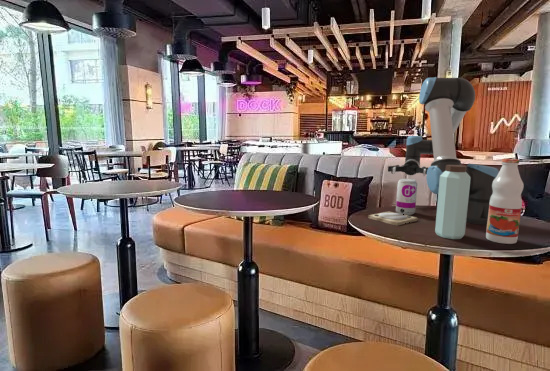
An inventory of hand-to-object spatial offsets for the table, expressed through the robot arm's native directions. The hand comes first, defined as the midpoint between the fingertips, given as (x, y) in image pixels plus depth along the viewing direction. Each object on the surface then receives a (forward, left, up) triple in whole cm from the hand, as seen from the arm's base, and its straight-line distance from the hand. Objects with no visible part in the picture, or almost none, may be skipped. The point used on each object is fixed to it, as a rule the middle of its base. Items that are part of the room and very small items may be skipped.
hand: (408, 172), depth 176 cm
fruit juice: (-48, +17, -17) cm, 54 cm away
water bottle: (-35, +27, -17) cm, 48 cm away
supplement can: (-5, +9, -17) cm, 20 cm away
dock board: (-9, +24, -17) cm, 31 cm away
